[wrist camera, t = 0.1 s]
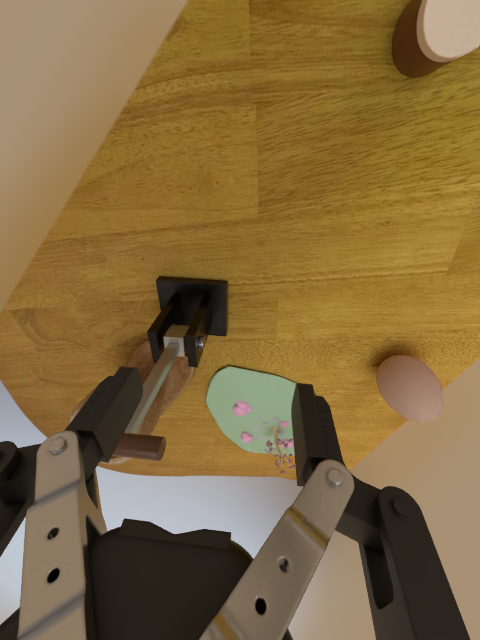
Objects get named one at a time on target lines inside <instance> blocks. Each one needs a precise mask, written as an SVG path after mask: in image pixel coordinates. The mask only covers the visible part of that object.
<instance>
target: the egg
mask: <svg viewBox="0 0 480 640" xmlns="http://www.w3.org/2000/svg"><path fill="white" fill-rule="evenodd" d="M376 379H377V386H378V388H379V391H380V393H381V395H382V397H383V398H384V400H385V401H386V402H387V404H388V405H389V406H390V407H391V408H392V409H394V410H395V411H396V412H397V413H399V414H400V415H402V416H403V417H405V418H407V419H409V420H412V421H416V422H429V421H432V420H433V419H435V418H436V417H437V416H438V415H439V414H440V412H441V410H442V407H443V393H442V387H441V385H440V383H439V380H438V378H437V377H436V375H435V374H434V372H433V371H432V370H431V369H430V368H429V367H428V366H427V365H426V364H425V363H423V362H421V361H420V360H418V359H416V358H414V357H410V356H406V355H395V356H391V357H389V358H387V359H385V360H384V361H383V362H382V363H381V365H380V366H379V368H378V371H377V375H376Z"/></svg>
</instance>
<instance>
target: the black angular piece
mask: <svg viewBox="0 0 480 640" xmlns="http://www.w3.org/2000/svg"><path fill="white" fill-rule="evenodd" d="M156 283H157V289H158V295H159V302H160V308H161V312H160V314H159V315H158V317H157V318H156V320H155V321H154V323H153V324H152V325H151V327H150V328H149V330H148V331H147V334H148V339H149V344H150V349H151V353H152V358H153V363H154V364H156V363H157V361H158V360H159V358H160V356H161V355H162V353H163V352H164V350H165V348H164V339H163V337H164V335H165V334H166V332H167V331H168V329H169V328H170V326H171V325H172V324H173V325H185V326H189V328H188V330H187V332H186V335H185V337H186V347H187V356H188V366H189V367H198V364H199V361H200V358H201V355H202V352H203V349H204V347H205V343H206V340H207V337H208V335H215V336H226V334H227V291H228V281H221V280H206V279H192V278H178V277H163V276H159V278H158V279H157V280H156Z"/></svg>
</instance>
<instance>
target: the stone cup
mask: <svg viewBox="0 0 480 640" xmlns="http://www.w3.org/2000/svg"><path fill="white" fill-rule="evenodd" d="M155 365H156V364H154V363H153V358H152V353H151V349H150V344H149V341H147V342H145V343H143V344H142V345H141V346H140V347H138V349H137V350H136V351H135V352H134V353H133V355H132V356H131V358H130V359H129V361H128V363H127V365H126V367H135V368H138V370H139V374H140V378H141V381H142V385H143V384H144V382H145V381H146V379H147V377H148V376H149V374H150V373H151V371H152V369H153V368H154V366H155ZM193 372H194V367H189V366H188V357H187V356H186V355H185V357H181V356H176V358H175V360H174V362H173V364H172V366H171V368H170V370H169V372H168V373H167V375H166V377H165V379H164V381H163V383H162V385H161V387H160V389H159V391H158V392H157V394H156V396H155V398H154V400H153V402H152V404H151V406H150V408H149V410H148V411H147V413H146V415H145V417H144V419H143V421H142V423H141V425H140V427H139V429H138V430H137V432H136V434H141V435H150V434H151V432H152V431H153V429H154V427H155V425H156V423H157V422H158V419H159V417H160V416H161V415H163V414H164V413H165V412H166V410H167V409H168V408H169V407H170V406H171V405H172V403H173V402H174V401H175V400H176V398H177V397H178V396H179V395H180V393H181V392H182V391H183V390H184V388H185V387H186V385H187V384H188V382H189V381H190V379H191V377H192V375H193ZM96 388H97V387H96ZM96 388H95V389H96ZM95 389H94V390H95ZM94 390H93V391H92V392H90V393H89V394H88V395H87V396H86V397H85V398H84V399H83V400H82V401H81V402H80V403H79V404H78V405H77V407H76V408H75V409H74V410H73V412H72V414H71V415H70V417H69V421H68V425H69V424H70V422H71V421H72V420H73V418H74V417H75V416H76V414H77V413H78V412H79V410H80V409H81V408H82V406H83V405H84V404H85V402H86V401H88V398H89V397H90V396H91V394H93V392H94ZM130 459H132V458H126V457H118V456H112V457H111V459H110V461H109V463H107V462H101V463H105V464H120V463H125V462H127V461H129V460H130Z"/></svg>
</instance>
